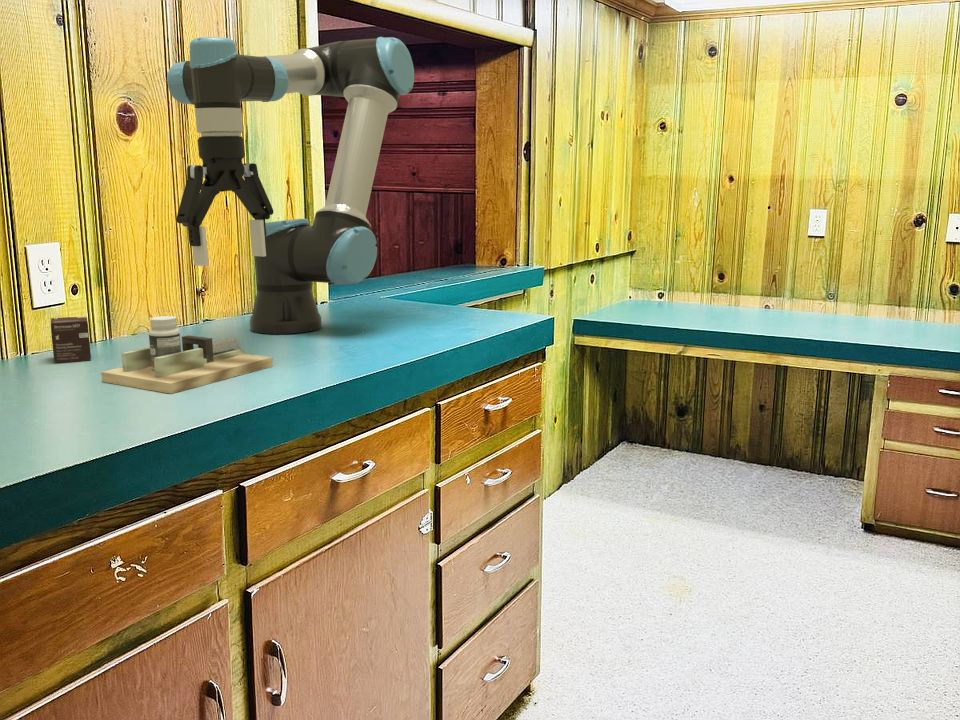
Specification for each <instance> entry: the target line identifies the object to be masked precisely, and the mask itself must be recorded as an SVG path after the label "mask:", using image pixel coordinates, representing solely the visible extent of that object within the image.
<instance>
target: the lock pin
mask: <svg viewBox="0 0 960 720" xmlns="http://www.w3.org/2000/svg"><path fill="white" fill-rule="evenodd" d="M239 343H240V342H239V339H238V338H230V337H227V338H222V339H218V340H212V344H213V355H217V354H221V353H226V352H230V351H234V350H238V349H240V344H239ZM197 348H202V346H201V345H197Z"/></svg>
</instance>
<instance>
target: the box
mask: <svg viewBox="0 0 960 720" xmlns="http://www.w3.org/2000/svg"><path fill="white" fill-rule="evenodd" d="M89 331H90V330H89V323H88V317H87V316H65V317H51V318H50V333H51V345H52V353H53V354H52V355H53V362H54V363H55V364H59V363H60V364H61V363H75V362H86V361H87V362H88V361H92V353H91V343H90V332H89Z"/></svg>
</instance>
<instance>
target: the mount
mask: <svg viewBox="0 0 960 720" xmlns="http://www.w3.org/2000/svg"><path fill="white" fill-rule="evenodd" d="M212 342H213V338H212V337H203V336H196V335H185V336H181V348H182V351H181V352H178V353H174V354H169V355H165V356H160V357H156V358H154V366H155V370H153V369H152V365H151V353H150V346H148V347H144V348H139V349H136V350H130V351H125V352H121V363H122V366H121V367H117V368H113V369H108V370H104V371H101V372H100V373H101V382H103V383H107V384H114V385H120V386H123V387H124V386H126V387H131V388H135V389H143V390H147V391H154V392H160V393H165V394H171V395H172V394H175V393H179V392H183V391H187V390H190V389H194V388H197V387H201V386H205V385H209V384H211V383H212V384H213V383H216V382H219V381H220V382H221V381H224V380H227V379H230V378H234V376H235V377H238V375H239V376H242V374H243V375H246V374H249V373H253V372H257V371H260V370H261V371H262V370H265V369H268V368H272V367H273V365H274V364H273V363H274V362H273V357H272V356H265V355H257V354H249V353H245V352H244V351H245V350H244V349H240V348H239V349H238V350H234V351H230V352H226V353H221V354H217V355H213V344H212ZM194 345H197V346H198V345H201V346H202V348H198V347H197V348H194ZM271 366H272V367H271Z"/></svg>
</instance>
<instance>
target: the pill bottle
mask: <svg viewBox="0 0 960 720" xmlns="http://www.w3.org/2000/svg"><path fill="white" fill-rule="evenodd" d="M177 319H178V317H177V316H175V315H161V316H152V317H150V319H149V321H150V323H149V324H150V325H149V326H150V328H151V329H150V330H149V331H148V340H149V347H150V353H151V365H152V369H153V370H155V366H154V358H156V357H160V356H165V355H169V354H174V353H178V352H182V341H181V332H180V329H179V328H178V327H177V325H178V320H177Z"/></svg>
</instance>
